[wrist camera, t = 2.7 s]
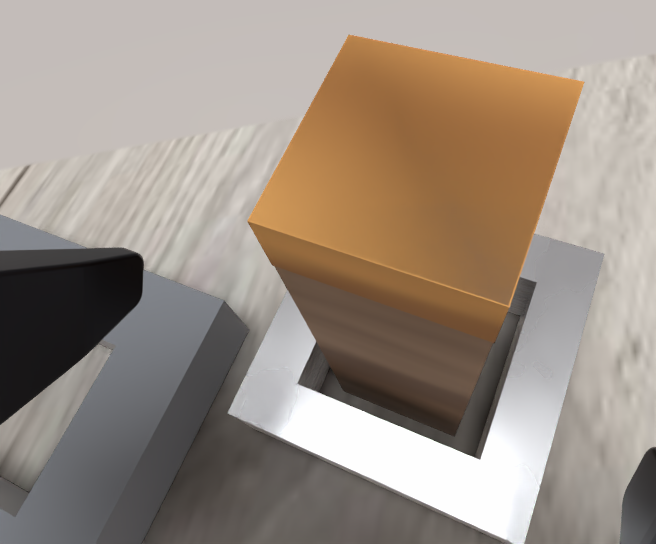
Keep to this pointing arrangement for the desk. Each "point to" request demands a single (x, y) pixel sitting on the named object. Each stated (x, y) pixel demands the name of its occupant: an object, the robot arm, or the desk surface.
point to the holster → (418, 451)
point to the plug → (413, 216)
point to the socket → (126, 415)
